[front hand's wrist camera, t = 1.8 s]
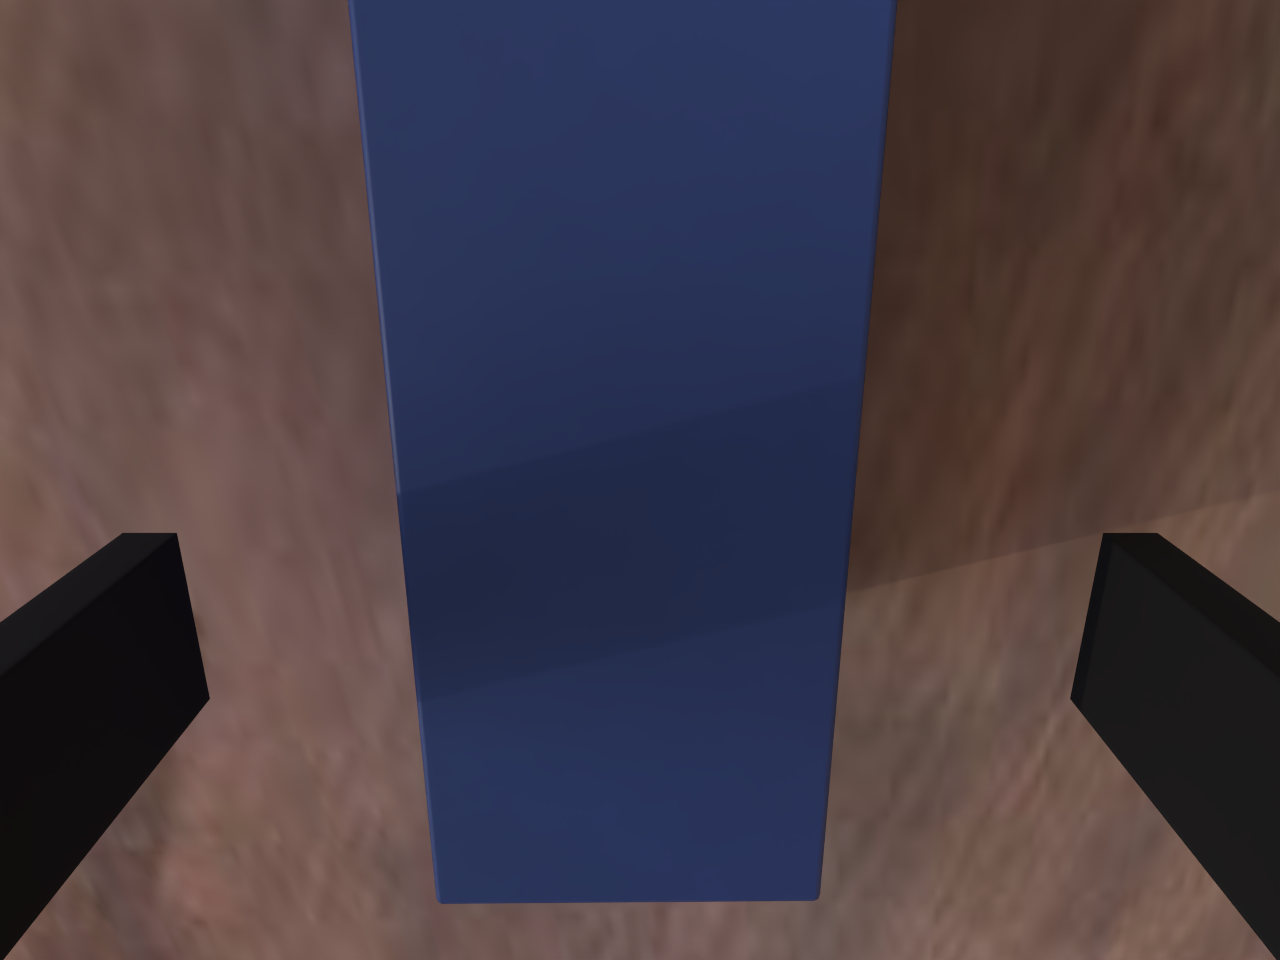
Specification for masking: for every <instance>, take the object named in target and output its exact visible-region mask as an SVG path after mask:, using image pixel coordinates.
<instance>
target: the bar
mask: <svg viewBox="0 0 1280 960" xmlns="http://www.w3.org/2000/svg"><path fill="white" fill-rule="evenodd" d="M348 5H349V16H350V26H351V36H352V46H353V56H354V66H355V77H356V87H357V97H358V107H359V117H360V127H361V138H362V148H363V158H364V168H365V178H366V188H367V198H368V209H369V219H370V229H371V239H372V249H373V259H374V270H375V280H376V290H377V300H378V310H379V320H380V331H381V341H382V351H383V361H384V371H385V381H386V391H387V402H388V412H389V422H390V432H391V442H392V452H393V463H394V473H395V483H396V493H397V503H398V513H399V524H400V534H401V544H402V554H403V564H404V574H405V584H406V595H407V605H408V615H409V625H410V635H411V645H412V656H413V666H414V676H415V686H416V696H417V706H418V717H419V727H420V737H421V747H422V757H423V767H424V777H425V788H426V798H427V808H428V818H429V828H430V838H431V849H432V859H433V869H434V879H435V889H436V897H437V901H438V902H439V903H442V904H467V903H590V902H712V901H814V900H817V899H818V898H819V895H820V887H821V875H822V864H823V852H824V841H825V829H826V818H827V806H828V794H829V783H830V771H831V760H832V748H833V737H834V725H835V714H836V702H837V691H838V679H839V668H840V656H841V644H842V633H843V621H844V610H845V598H846V587H847V575H848V564H849V552H850V541H851V529H852V518H853V506H854V495H855V483H856V471H857V460H858V448H859V437H860V425H861V414H862V402H863V391H864V379H865V368H866V356H867V345H868V333H869V321H870V310H871V298H872V287H873V275H874V264H875V252H876V241H877V229H878V218H879V206H880V195H881V183H882V172H883V160H884V148H885V137H886V125H887V114H888V102H889V91H890V79H891V68H892V56H893V45H894V33H895V22H896V10H897V0H348Z"/></svg>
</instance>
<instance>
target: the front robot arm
mask: <svg viewBox="0 0 1280 960" xmlns="http://www.w3.org/2000/svg"><path fill="white" fill-rule="evenodd" d="M209 699H210V697H209V692H208V687H207V682H206V677H205V672H204V667H203V662H202V657H201V652H200V647H199V642H198V637H197V632H196V627H195V622H194V617H193V612H192V607H191V602H190V597H189V592H188V587H187V582H186V577H185V572H184V567H183V562H182V557H181V552H180V547H179V542H178V537H177V533H122V534H121V535H119V536H118V537H117V538H115V539H114V540H112V541H111V542H110V543H108V544H107V545H106V546H104V547H103V548H102V549H100V550H99V551H97V552H96V553H95V554H93V555H92V556H91V557H89V558H88V559H86V560H85V561H84V562H82V563H81V564H80V565H78V566H77V567H76V568H74V569H73V570H71V571H70V572H69V573H67V574H66V575H65V576H63V577H62V578H60V579H59V580H58V581H56V582H55V583H54V584H52V585H51V586H50V587H48V588H47V589H45V590H44V591H43V592H41V593H40V594H39V595H37V596H36V597H35V598H33V599H32V600H30V601H29V602H28V603H26V604H25V605H24V606H22V607H21V608H19V609H18V610H17V611H15V612H14V613H13V614H11V615H10V616H9V617H7V618H6V619H4V620H3V621H2V622H0V960H4V958H5V957H6V956H7V954H8V953H9V952H10V951H11V949H12V948H13V947H14V946H15V944H16V943H17V942H18V941H19V939H20V938H21V937H22V936H23V934H24V933H25V932H26V930H27V929H28V928H29V927H30V925H31V924H32V923H33V922H34V920H35V919H36V918H37V917H38V915H39V914H40V913H41V912H42V910H43V909H44V908H45V906H46V905H47V904H48V903H49V901H50V900H51V899H52V898H53V896H54V895H55V894H56V893H57V891H58V890H59V889H60V887H61V886H62V885H63V884H64V882H65V881H66V880H67V879H68V877H69V876H70V875H71V874H72V872H73V871H74V870H75V869H76V867H77V866H78V865H79V863H80V862H81V861H82V860H83V858H84V857H85V856H86V855H87V853H88V852H89V851H90V850H91V848H92V847H93V846H94V845H95V843H96V842H97V841H98V839H99V838H100V837H101V836H102V834H103V833H104V832H105V831H106V829H107V828H108V827H109V826H110V824H111V823H112V822H113V820H114V819H115V818H116V817H117V815H118V814H119V813H120V812H121V810H122V809H123V808H124V807H125V805H126V804H127V803H128V802H129V800H130V799H131V798H132V796H133V795H134V794H135V793H136V791H137V790H138V789H139V788H140V786H141V785H142V784H143V783H144V781H145V780H146V779H147V778H148V776H149V775H150V774H151V772H152V771H153V770H154V769H155V767H156V766H157V765H158V764H159V762H160V761H161V760H162V759H163V757H164V756H165V755H166V753H167V752H168V751H169V750H170V748H171V747H172V746H173V745H174V743H175V742H176V741H177V740H178V738H179V737H180V736H181V735H182V733H183V732H184V731H185V729H186V728H187V727H188V726H189V724H190V723H191V722H192V721H193V719H194V718H195V717H196V716H197V714H198V713H199V712H200V711H201V709H202V708H203V707H204V705H205V704H206V703H207V702H208V700H209ZM1070 699H1071V700H1072V702H1073V703H1074V704H1075V705H1076V707H1077V708H1078V709H1079V711H1080V712H1081V713H1082V714H1083V716H1084V717H1085V718H1086V719H1087V721H1088V722H1089V723H1090V724H1091V726H1092V727H1093V728H1094V729H1095V731H1096V732H1097V733H1098V735H1099V736H1100V737H1101V738H1102V740H1103V741H1104V742H1105V743H1106V745H1107V746H1108V747H1109V748H1110V750H1111V751H1112V752H1113V753H1114V755H1115V756H1116V757H1117V759H1118V760H1119V761H1120V762H1121V764H1122V765H1123V766H1124V767H1125V769H1126V770H1127V771H1128V772H1129V774H1130V775H1131V776H1132V778H1133V779H1134V780H1135V781H1136V783H1137V784H1138V785H1139V786H1140V788H1141V789H1142V790H1143V791H1144V793H1145V794H1146V795H1147V796H1148V798H1149V799H1150V800H1151V802H1152V803H1153V804H1154V805H1155V807H1156V808H1157V809H1158V810H1159V812H1160V813H1161V814H1162V815H1163V817H1164V818H1165V819H1166V820H1167V822H1168V823H1169V824H1170V826H1171V827H1172V828H1173V829H1174V831H1175V832H1176V833H1177V834H1178V836H1179V837H1180V838H1181V839H1182V841H1183V842H1184V843H1185V845H1186V846H1187V847H1188V848H1189V850H1190V851H1191V852H1192V853H1193V855H1194V856H1195V857H1196V858H1197V860H1198V861H1199V862H1200V863H1201V865H1202V866H1203V867H1204V869H1205V870H1206V871H1207V872H1208V874H1209V875H1210V876H1211V877H1212V879H1213V880H1214V881H1215V882H1216V884H1217V885H1218V886H1219V887H1220V889H1221V890H1222V891H1223V893H1224V894H1225V895H1226V896H1227V898H1228V899H1229V900H1230V901H1231V903H1232V904H1233V905H1234V906H1235V908H1236V909H1237V910H1238V912H1239V913H1240V914H1241V915H1242V917H1243V918H1244V919H1245V920H1246V922H1247V923H1248V924H1249V925H1250V927H1251V928H1252V929H1253V930H1254V932H1255V933H1256V934H1257V936H1258V937H1259V938H1260V939H1261V941H1262V942H1263V943H1264V944H1265V946H1266V947H1267V948H1268V949H1269V951H1270V952H1271V953H1272V954H1273V956H1274V957H1275V958H1276V960H1280V622H1278V621H1277V620H1276V619H1274V618H1273V617H1271V616H1270V615H1269V614H1267V613H1266V612H1265V611H1263V610H1262V609H1261V608H1259V607H1258V606H1256V605H1255V604H1254V603H1252V602H1251V601H1250V600H1248V599H1247V598H1245V597H1244V596H1243V595H1241V594H1240V593H1239V592H1237V591H1236V590H1235V589H1233V588H1232V587H1230V586H1229V585H1228V584H1226V583H1225V582H1224V581H1222V580H1221V579H1220V578H1218V577H1217V576H1215V575H1214V574H1213V573H1211V572H1210V571H1209V570H1207V569H1206V568H1204V567H1203V566H1202V565H1200V564H1199V563H1198V562H1196V561H1195V560H1194V559H1192V558H1191V557H1189V556H1188V555H1187V554H1185V553H1184V552H1183V551H1181V550H1180V549H1178V548H1177V547H1176V546H1174V545H1173V544H1172V543H1170V542H1169V541H1168V540H1166V539H1165V538H1163V537H1162V536H1161V535H1159V534H1158V533H1103V537H1102V542H1101V547H1100V552H1099V557H1098V562H1097V567H1096V572H1095V577H1094V582H1093V587H1092V592H1091V597H1090V602H1089V607H1088V612H1087V617H1086V622H1085V627H1084V632H1083V637H1082V642H1081V647H1080V652H1079V657H1078V662H1077V667H1076V672H1075V677H1074V682H1073V687H1072V692H1071V697H1070Z"/></svg>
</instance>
